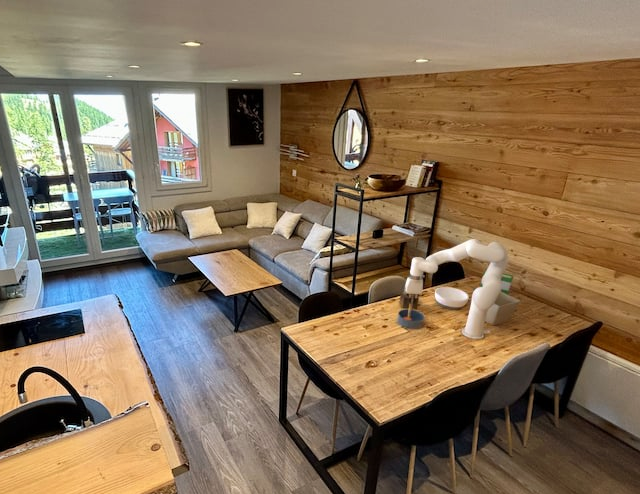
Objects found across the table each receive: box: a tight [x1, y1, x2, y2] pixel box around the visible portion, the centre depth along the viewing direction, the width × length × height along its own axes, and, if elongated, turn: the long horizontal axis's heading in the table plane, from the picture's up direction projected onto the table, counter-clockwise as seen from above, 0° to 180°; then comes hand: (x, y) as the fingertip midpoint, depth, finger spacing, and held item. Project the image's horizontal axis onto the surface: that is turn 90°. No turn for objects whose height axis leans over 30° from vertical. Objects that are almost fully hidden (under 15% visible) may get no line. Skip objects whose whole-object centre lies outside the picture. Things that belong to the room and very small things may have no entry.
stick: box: [407, 294, 414, 318], centre depth 252 cm, size 2×2×18 cm
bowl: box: [434, 286, 470, 311], centre depth 279 cm, size 22×22×8 cm
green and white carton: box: [479, 268, 515, 295], centre depth 277 cm, size 18×7×24 cm, turn 52°
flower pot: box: [485, 292, 521, 326], centre depth 258 cm, size 19×19×17 cm
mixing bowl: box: [396, 308, 425, 330], centre depth 254 cm, size 16×16×6 cm
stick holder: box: [398, 290, 420, 310], centre depth 275 cm, size 10×10×9 cm
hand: (411, 302), depth 250 cm, fingers closed on stick, 1 cm apart
